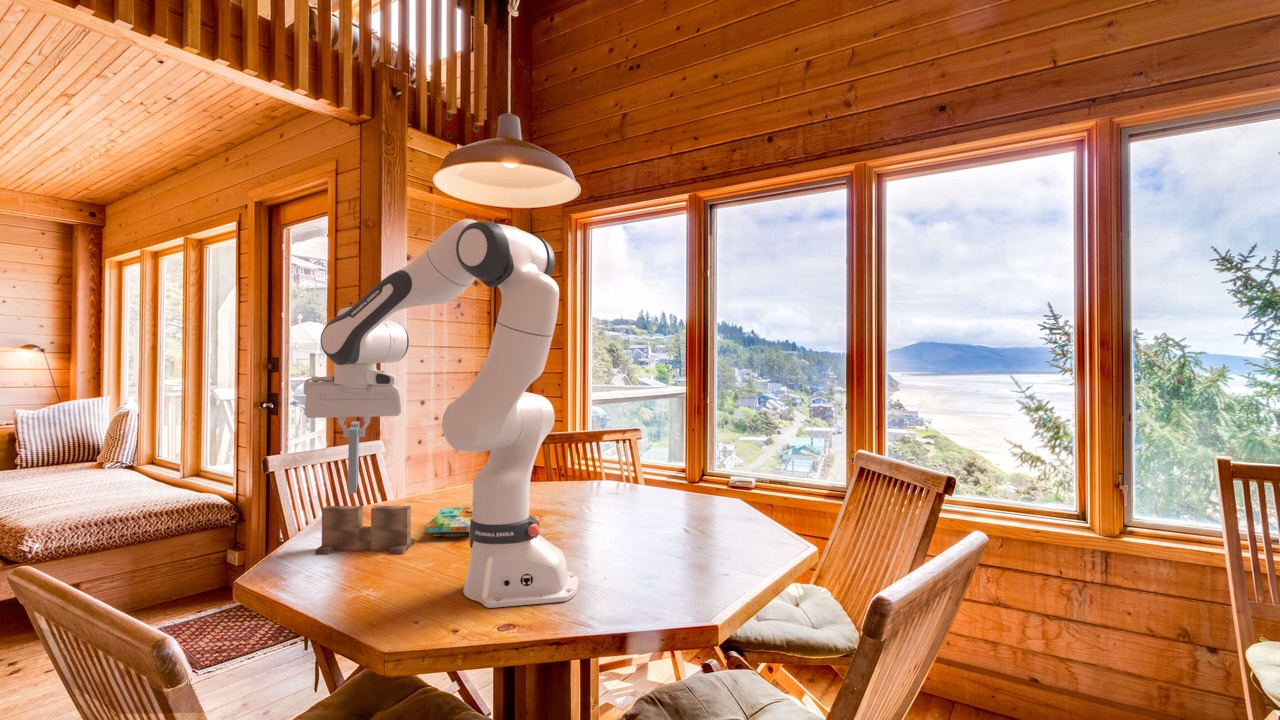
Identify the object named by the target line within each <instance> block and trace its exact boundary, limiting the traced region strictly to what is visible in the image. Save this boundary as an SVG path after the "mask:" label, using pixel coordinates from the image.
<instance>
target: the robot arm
mask: <svg viewBox="0 0 1280 720" xmlns="http://www.w3.org/2000/svg"><path fill="white" fill-rule="evenodd" d="M555 261H556V257H555V252H554V250H553V248H552V246H551V244H549V242H548V241H546V240H545V239H544V238H542V237H540V236H539V235H537V234H534V233H530V232H527V231H524V230H522V229H520V228H518V227H515V226H511V225H507V224H503V223H501V224H500V223H496V222H494V221H488V220H486V221H485V220H483V221H482V220H481V221H477V220H475V219H471V218H465V219H464V218H463V219H460V220H458V221H456V222H455V223H454V224H452V225H450V227H449V228H447V229H446V230H444V232H442V233H441V234H440V235H439V236H438V237H436V239H435V240H434V241H433V242H432V243H431V244H430V245H429V246H428V247H427V248H426V250H425V251H423V253H421V254H420V255H419V256H418V257H417V258H415V259H413V261H412V262H410V263H408V264H407V265H405V266H403V267H402V268H400V269H398V270H397V271H394V272H392V273H390V274H389V275H388V276H386V277H385V278H383V279H382V280H381V281H380V282H378V284H376V285H375V286H374V287H373V288H371V289H370V290H369V291H368V292H367V293H366V294H365V295H364V296H363V297H362V298H361V299H359V300H358V301H357V302H356V303H354V304H353V305H348V306H344V307H342V308H340V309H339V310H338V312H337V315H336V316H334V317H333V318H332V319H331V320H330V321H328V322H327V324H326V325H325V327H324V328H323V329H322V332H321V334H320V341H319V342H320V346H321V349H322V351H323V353H324V354H325V355H326V357H327V358H328V359H329V360H330V361H332V362H333V376H312V377H311V378H310V377H309V378H307V379H306V380H305V381H304V382H303V394H304V395H305V403H304V409H303V410H304V412H303V413H304V415H305V417H307V418H308V419H314V418H315V419H319V418H320V419H324V418H337V423H338V424H339V426H340V428H341V430H343V431H342V433H343V434H342V436H343V438H349V428H347V426H346V424H345V422H346V418H363V422H365V423H364V425H363V426H362V427H359V428H358V437H359V438H362V437H366V429H367V427H368V426H369V424H370V423H371V418H373V417H374V418H375V417H399V416H400V415H401V414H402V413H403V412H402V411H403V409H402V407H403V406H402V398H401V392H400V389H399V388H398V386H396V383H397V376H396V375H395V374H392V373H388V372H386V371H383V370H379V369H377V364H391V363H395V362H399V361H401V360H402V359H403V358H404V357H405V356H406V354H407V352H408V350H409V346H410V345H409V344H410V340H409V334H408V332H407V329H406V328H405V327H404V325H402V324H401V323H400V322H396V321H393V320H390V319H389V317H390V316H391V315H393V314H394V313H396V312H398V311H401V310H405V309H409V308H413V307H414V308H415V307H419V306H429V305H430V306H431V305H440V304H441V305H442V304H447V303H449V302H451V301H453V300H454V299H456V298H458V297H459V296H461V295H462V294H463V293H464V292H465V291H466V290H467V289H468V288H469V287H470V286H471V285H472V284H473V283H474V282H475V280H476V279H478V280H479V281H480V282H482V283H483V284H484V285H485V286H487V287H488V288H496V287H498V289H499V291H500V293H501V305H500V309H499V311H498V315H497V320H496V322H495V323H496V324H495V327H494V332H493V335H492V339H491V342H490V346H489V349H488V353H487V356H486V358H485V360H484V363H483V364H482V367H481V369H480V370H479V371H478V373H477V375H476V376H475V378H474V380H473V381H472V382H471V384H469V386H468V388H466V390H465V391H463V393H462V394H461V395H460V396H459V397H457V398H456V399H454V400H453V401H452V402H450V403H449V404H448V405H447V407H446V408H445V410H444V412H443V417H442V422H441V425H442V427H441V428H442V433H443V436H444V439H445V440H446V442H447V443H448V445H450V446H451V447H452V448H453V450H454V449H455V450H456V451H460V452H461V451H462V452H471V453H472V452H473V453H483V452H489V451H490V452H489V456H488V459H487V460H486V463H485V464H484V465H483V467H482V468H481V469H480V470H479V472H477V474H476V475H475V476H474V478H473V481H472V507H473V513H472V519H471V520H470V527H469V536H468V538H469V539H468V540H469V548H470V555H469V556H470V557H469V558H470V559H469V565H468V570H467V576H466V578H465V579H466V580H465V583H464V587H463V590H462V592H463V595H464V596H465V597H466V598H468V599H469V600H473V601H475V602H479V603H481V604H482V605H483V606H484V607H485V608H490V609H491V608H492V609H493V608H502V607H504V608H505V607H515V606H516V607H517V606H525V605H527V606H529V605H538V604H551V603H561V602H568V601H570V600H571V599H572V598H573V597H575V595H576V594H577V592H578V590H579V584H580V583H579V578H578V576H577V574H576V573H574V572H573V571H570V570H568V565H567V561H566V557H565V554H564V553H563V551H562V550H561V549H560V548H558V547H557V546H556V545H554V544H552V543H551V542H550V541H549V540H547V539H546V538H544V536H542V535H540V518H539V517H538V516H537V518H535V517H534V516H533V515H531V514H530V495H531V494H530V493H531V479H532V472H533V469H534V465H535V461H536V458H537V455H538V453H539V450H540V448H541V445H542V443H543V442H544V440H545V439H546V437H547V436H548V435H550V433H551V432H552V430H553V428H554V425H555V419H556V418H555V417H556V416H555V410H554V407H553V405H552V403H551V401H550V400H549V399H548V398H546V397H545V396H543V395H540V394H538V393H537V394H536V393H533V392H527V391H526V390H527V389H528V388H529V386H530V385H531V384H532V383H533V382H534V381H536V380H537V379H538V378H540V376H541V375H542V374H543V372H544V371H545V368H546V363H547V360H548V356H549V352H550V348H551V345H552V340H553V337H554V332H555V328H556V324H557V318H558V314H559V313H558V312H559V304H560V303H559V301H560V288H559V285H558V283H557V282H556V281H555V280H554V279H553V278H552V277H551V275H552V273H553V271H554V267H555V264H556V262H555Z"/></svg>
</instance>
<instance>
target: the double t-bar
mask: <svg viewBox="0 0 1280 720" xmlns="http://www.w3.org/2000/svg"><path fill="white" fill-rule="evenodd" d="M363 507H364V506H363V505H326V506H324V507H322V508H321V546H319V547H317V548H315V555H330V554H332V553H333V552H334V550H338V551H389V555H403V554H404V553H406V552H407V551H408V550H409V549H410V548H411V547H413V546H414V545H415V538H412V537H411V536H412V535H411V532H412V531H411V526H412V524H411V523H412V522H411V521H412V518H411V517H412V515H411V513H412V512H411V511H412V510H411V509H412V506H411V505H374V506H372V507H370V526H363V521H364V520H363V519H364V518H363V517H364V515H363V513H364V512H363V509H364V508H363ZM406 550H407V551H406ZM332 551H333V552H332ZM331 552H332V553H331ZM329 553H330V554H329Z"/></svg>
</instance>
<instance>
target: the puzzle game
mask: <svg viewBox="0 0 1280 720" xmlns="http://www.w3.org/2000/svg"><path fill="white" fill-rule="evenodd" d="M472 513H473V506H464V507H461V506H454V507H441V509H440V510H439V511H438V512H437V514H436V515H435V516H434V517H433V518H432V519H431V521H430V522H429V523H428V524H427V525H426V526H425V527H424V532H425V533H426V534H427V533H429V534H431V535H432V537H434V538H438V536H449V537H469V527H470V520H471V519H472ZM435 536H436V537H435Z"/></svg>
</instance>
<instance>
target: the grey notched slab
mask: <svg viewBox="0 0 1280 720" xmlns="http://www.w3.org/2000/svg"><path fill="white" fill-rule="evenodd" d="M358 428H360V420H358V421H351V424H350V426H349V428H348V429H349V437H348V454H347V455H348V457H347V458H348V460H347V461H348V465H347V468H348V469H347V494H348V495H351V494H357V488H358V483H359V473H360V471H359V469H360V465H359V463H360V459H359V458H360V457H359V456H360V437H358Z"/></svg>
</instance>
